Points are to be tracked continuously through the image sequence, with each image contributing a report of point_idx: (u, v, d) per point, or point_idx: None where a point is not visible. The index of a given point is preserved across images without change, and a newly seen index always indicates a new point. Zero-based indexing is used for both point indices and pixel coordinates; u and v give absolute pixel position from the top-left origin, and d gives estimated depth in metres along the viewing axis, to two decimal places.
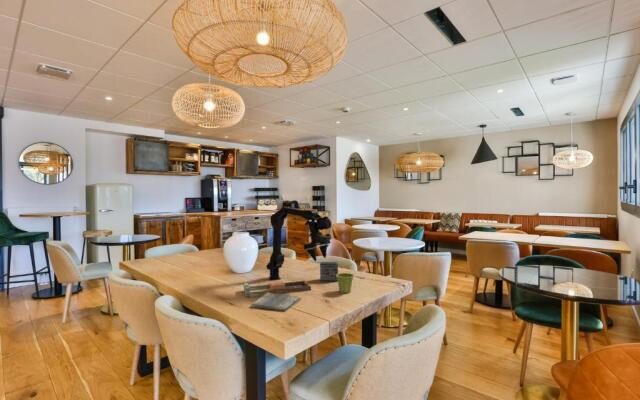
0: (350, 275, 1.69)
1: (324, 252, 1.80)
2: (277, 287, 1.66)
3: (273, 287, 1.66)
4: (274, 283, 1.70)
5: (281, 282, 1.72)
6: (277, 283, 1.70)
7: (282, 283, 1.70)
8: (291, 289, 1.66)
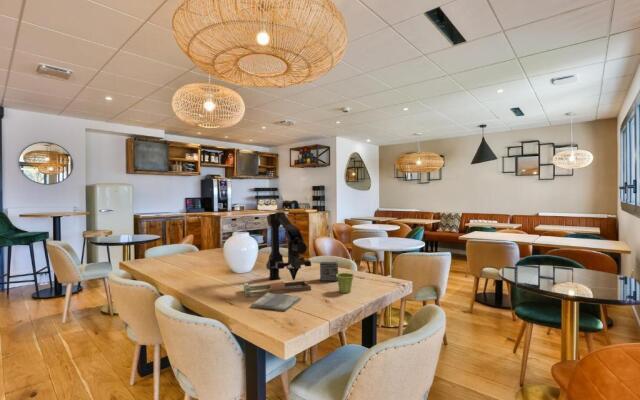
0: (350, 275, 1.69)
1: (294, 274, 1.72)
2: (277, 287, 1.66)
3: (273, 287, 1.66)
4: (274, 283, 1.70)
5: (281, 282, 1.72)
6: (277, 283, 1.70)
7: (282, 283, 1.70)
8: (291, 289, 1.66)
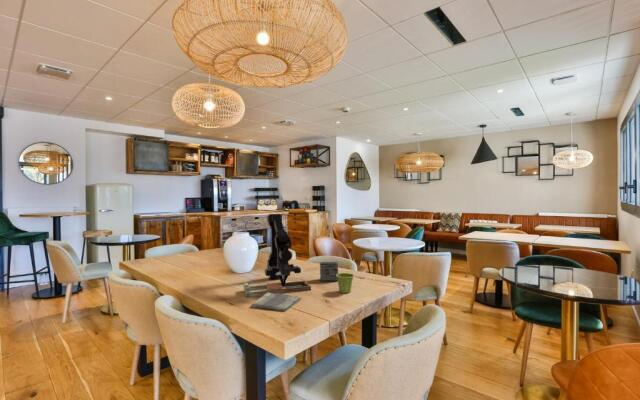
0: (350, 275, 1.69)
1: (283, 281, 1.70)
2: (274, 288, 1.65)
3: (270, 288, 1.64)
4: (271, 284, 1.69)
5: (278, 283, 1.70)
6: (274, 284, 1.69)
7: (279, 284, 1.68)
8: (291, 289, 1.66)
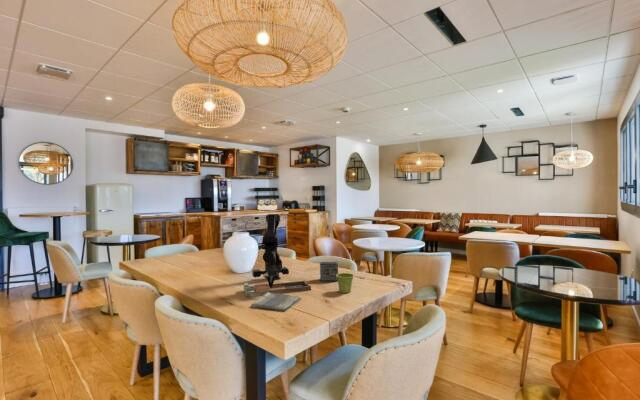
0: (350, 275, 1.69)
1: None
2: (262, 289, 1.62)
3: (257, 290, 1.62)
4: (258, 285, 1.66)
5: (266, 284, 1.68)
6: (262, 285, 1.66)
7: (267, 285, 1.66)
8: (291, 289, 1.66)
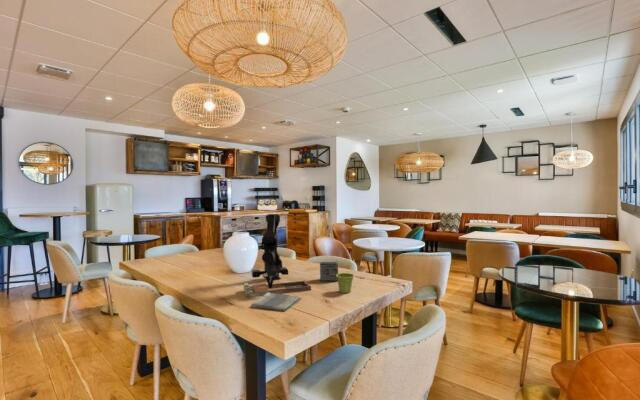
0: (350, 275, 1.69)
1: (270, 282, 1.68)
2: (260, 289, 1.62)
3: (256, 290, 1.61)
4: (256, 286, 1.65)
5: (264, 284, 1.68)
6: (260, 285, 1.66)
7: (265, 285, 1.66)
8: (291, 289, 1.66)
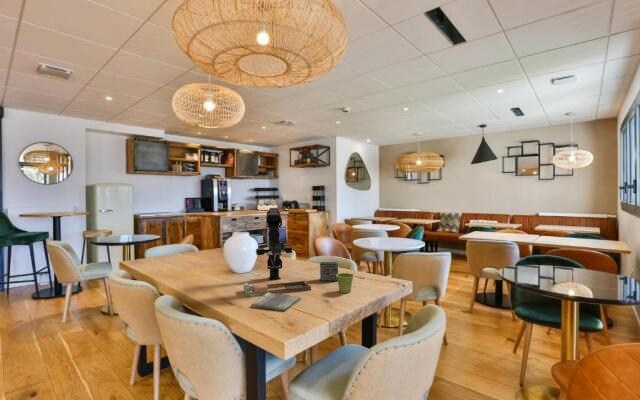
0: (350, 275, 1.69)
1: (274, 261, 1.69)
2: (260, 289, 1.62)
3: (256, 290, 1.61)
4: (257, 286, 1.65)
5: (264, 284, 1.68)
6: (260, 285, 1.66)
7: (265, 285, 1.66)
8: (291, 289, 1.66)
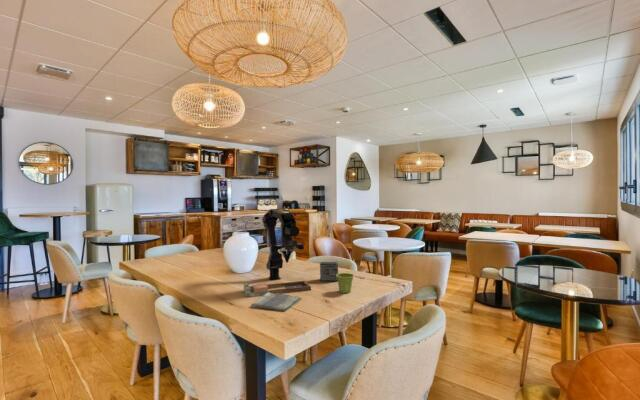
0: (350, 275, 1.69)
1: (287, 257, 1.78)
2: (260, 289, 1.62)
3: (255, 290, 1.61)
4: (256, 286, 1.65)
5: (264, 284, 1.68)
6: (260, 285, 1.66)
7: (265, 285, 1.66)
8: (291, 289, 1.66)
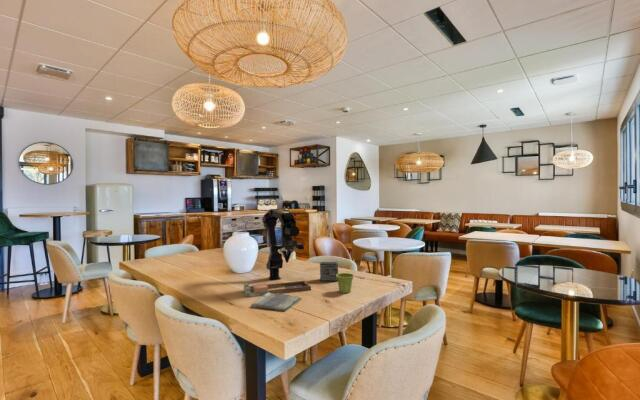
0: (350, 275, 1.69)
1: (287, 257, 1.78)
2: (260, 289, 1.62)
3: (256, 290, 1.61)
4: (257, 286, 1.65)
5: (264, 284, 1.68)
6: (260, 285, 1.66)
7: (265, 285, 1.66)
8: (291, 289, 1.66)
